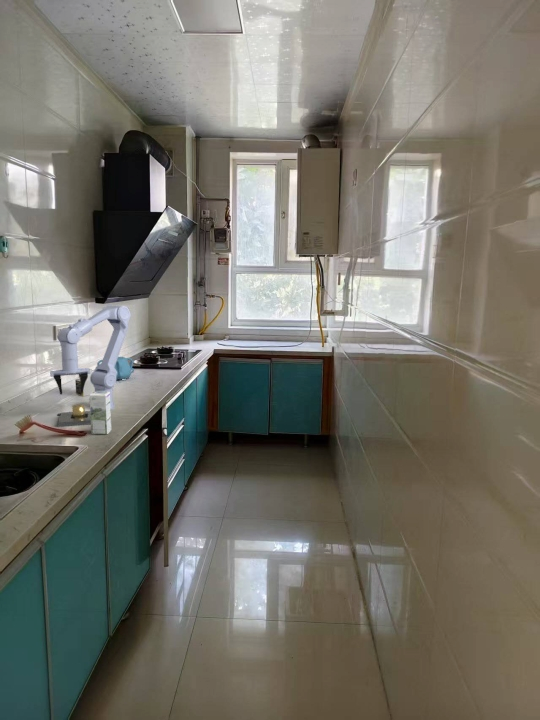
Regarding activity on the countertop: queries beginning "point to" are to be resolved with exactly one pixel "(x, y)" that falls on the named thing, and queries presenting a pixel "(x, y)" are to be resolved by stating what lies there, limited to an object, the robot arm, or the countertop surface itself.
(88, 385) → the medicine bottle
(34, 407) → the countertop surface
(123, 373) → the decorative pot
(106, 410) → the syrup box
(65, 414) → the steel plate
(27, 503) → the countertop surface
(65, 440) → the countertop surface
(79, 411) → the hub peg
